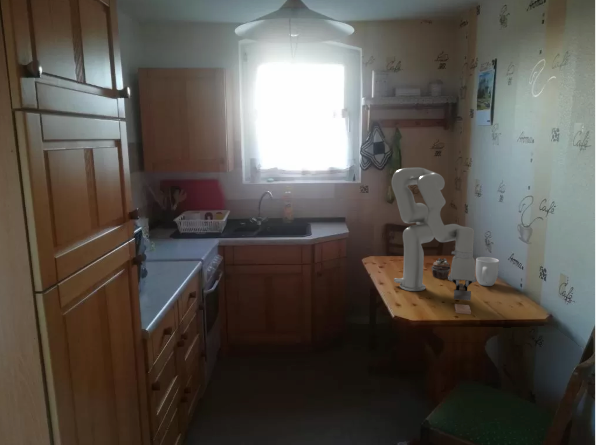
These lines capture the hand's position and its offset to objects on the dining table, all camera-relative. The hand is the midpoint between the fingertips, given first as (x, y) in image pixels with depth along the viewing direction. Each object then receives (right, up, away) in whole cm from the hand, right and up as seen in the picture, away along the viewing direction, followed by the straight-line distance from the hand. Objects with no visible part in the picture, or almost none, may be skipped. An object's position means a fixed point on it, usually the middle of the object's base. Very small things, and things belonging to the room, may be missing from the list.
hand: (461, 293), depth 214 cm
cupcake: (+3, +3, +42) cm, 42 cm away
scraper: (0, -1, 0) cm, 1 cm away
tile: (-2, -5, -5) cm, 7 cm away
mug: (+21, 0, +27) cm, 34 cm away
